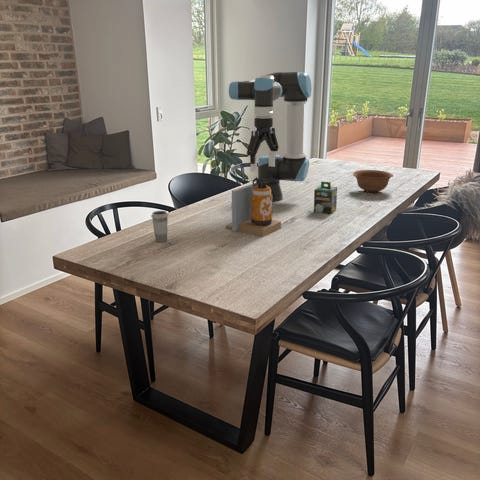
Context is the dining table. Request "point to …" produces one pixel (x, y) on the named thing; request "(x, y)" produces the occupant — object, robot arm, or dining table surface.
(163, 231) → the cup
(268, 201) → the canister
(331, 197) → the chalk box
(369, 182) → the bowl
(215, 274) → the dining table surface
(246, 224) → the wooden stand with panel
